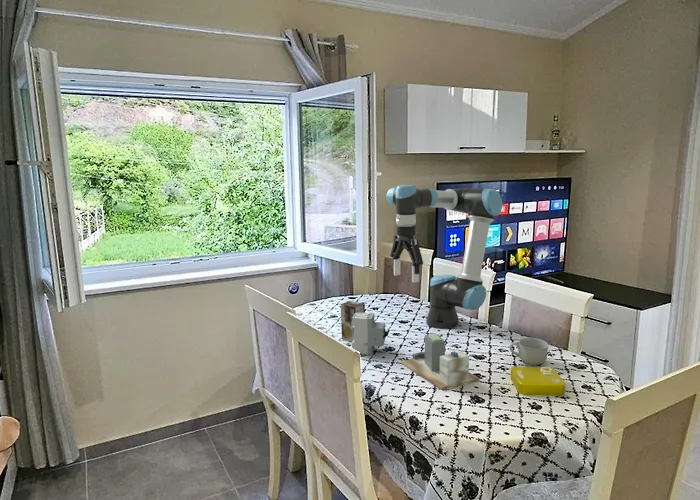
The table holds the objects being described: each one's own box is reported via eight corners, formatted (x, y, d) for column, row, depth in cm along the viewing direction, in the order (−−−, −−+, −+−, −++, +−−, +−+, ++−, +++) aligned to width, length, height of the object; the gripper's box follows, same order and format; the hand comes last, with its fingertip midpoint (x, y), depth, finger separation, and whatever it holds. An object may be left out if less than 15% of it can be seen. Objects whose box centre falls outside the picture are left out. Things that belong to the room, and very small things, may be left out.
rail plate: (435, 355, 202) (435, 328, 200) (479, 380, 179) (479, 350, 177) (401, 363, 196) (401, 335, 194) (441, 390, 173) (442, 359, 171)
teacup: (547, 358, 197) (547, 338, 196) (547, 369, 187) (549, 348, 186) (509, 354, 202) (510, 335, 200) (508, 365, 192) (509, 345, 190)
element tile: (509, 377, 183) (509, 364, 182) (552, 377, 181) (552, 364, 181) (519, 396, 168) (520, 382, 167) (566, 397, 167) (567, 383, 166)
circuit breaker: (387, 355, 204) (386, 319, 201) (352, 353, 207) (351, 318, 204) (389, 348, 211) (389, 313, 208) (355, 346, 214) (354, 312, 211)
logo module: (437, 361, 194) (437, 332, 192) (444, 370, 186) (445, 339, 184) (424, 362, 193) (424, 333, 191) (431, 371, 185) (431, 340, 183)
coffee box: (366, 339, 222) (365, 303, 219) (356, 343, 218) (355, 307, 215) (350, 335, 228) (350, 300, 226) (340, 338, 224) (340, 303, 221)
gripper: (381, 222, 207) (382, 273, 211) (415, 229, 185) (415, 286, 189) (397, 221, 210) (397, 271, 214) (432, 227, 188) (432, 283, 192)
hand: (406, 278), depth 201 cm, fingers open, 13 cm apart
